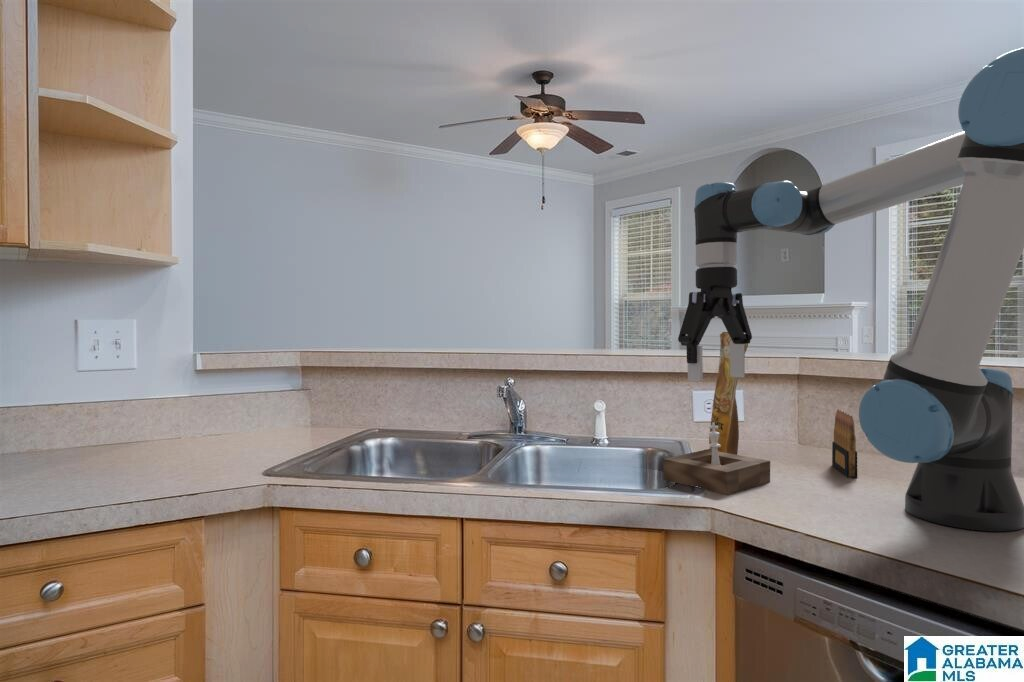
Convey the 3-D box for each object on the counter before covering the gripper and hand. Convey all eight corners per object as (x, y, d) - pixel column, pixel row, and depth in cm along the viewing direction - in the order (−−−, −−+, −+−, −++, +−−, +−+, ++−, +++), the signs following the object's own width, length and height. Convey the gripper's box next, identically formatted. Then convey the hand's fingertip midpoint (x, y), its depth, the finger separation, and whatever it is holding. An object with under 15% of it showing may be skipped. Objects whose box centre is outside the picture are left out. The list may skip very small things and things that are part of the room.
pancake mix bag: (734, 445, 153) (734, 331, 152) (749, 463, 134) (749, 332, 134) (705, 445, 154) (705, 331, 154) (717, 462, 136) (716, 332, 135)
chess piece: (730, 478, 117) (727, 424, 117) (702, 477, 118) (699, 425, 118) (729, 471, 122) (726, 420, 121) (702, 471, 123) (700, 420, 123)
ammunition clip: (831, 465, 132) (832, 408, 132) (841, 465, 132) (841, 408, 131) (847, 477, 122) (847, 416, 121) (857, 478, 121) (857, 416, 121)
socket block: (770, 481, 119) (770, 460, 119) (727, 494, 110) (727, 472, 110) (706, 468, 130) (706, 449, 130) (663, 479, 121) (663, 458, 121)
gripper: (736, 271, 130) (736, 374, 130) (657, 265, 114) (658, 382, 115) (770, 268, 124) (770, 376, 124) (692, 262, 108) (693, 384, 109)
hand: (717, 379), depth 119 cm, fingers open, 13 cm apart
